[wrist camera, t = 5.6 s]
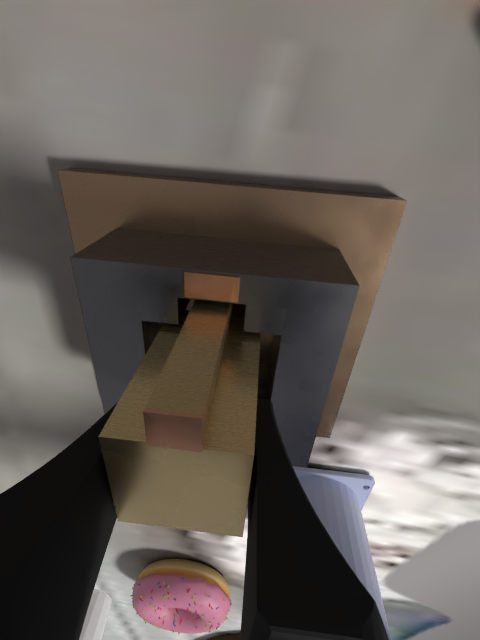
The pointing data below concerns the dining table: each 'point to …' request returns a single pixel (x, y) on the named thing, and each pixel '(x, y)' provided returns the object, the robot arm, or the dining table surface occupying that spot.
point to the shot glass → (96, 616)
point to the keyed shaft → (188, 426)
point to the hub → (232, 278)
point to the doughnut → (181, 596)
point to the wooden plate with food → (227, 637)
